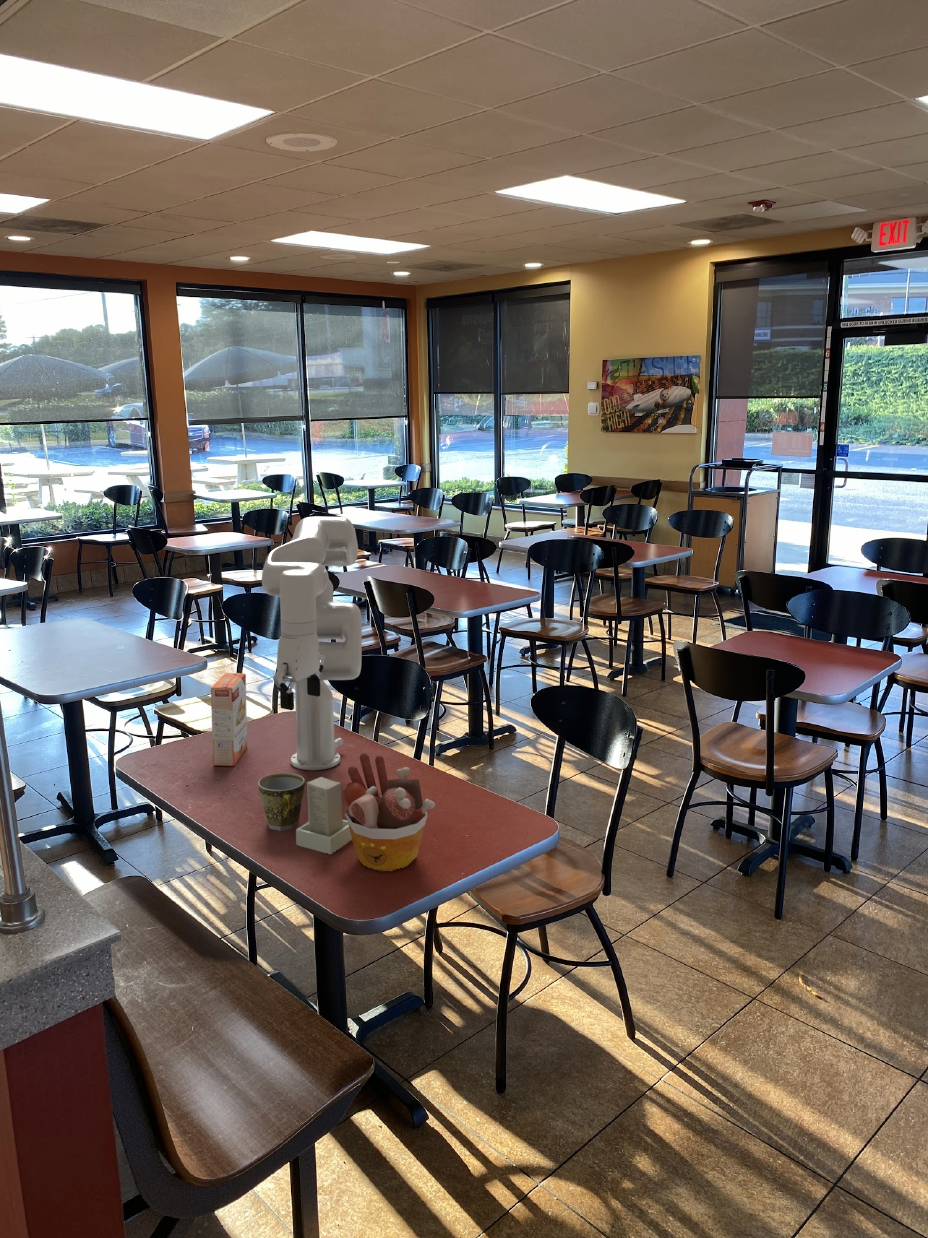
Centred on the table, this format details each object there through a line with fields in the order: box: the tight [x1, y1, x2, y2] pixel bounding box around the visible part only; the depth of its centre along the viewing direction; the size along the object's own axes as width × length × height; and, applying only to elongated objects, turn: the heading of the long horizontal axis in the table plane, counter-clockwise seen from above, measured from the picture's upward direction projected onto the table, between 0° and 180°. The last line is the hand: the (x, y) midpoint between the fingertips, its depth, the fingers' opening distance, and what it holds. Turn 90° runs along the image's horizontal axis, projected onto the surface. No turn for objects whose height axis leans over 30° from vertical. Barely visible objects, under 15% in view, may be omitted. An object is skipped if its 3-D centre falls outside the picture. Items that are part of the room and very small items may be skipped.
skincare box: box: [306, 776, 343, 837], centre depth 193 cm, size 6×4×12 cm
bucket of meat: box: [343, 752, 436, 871], centre depth 185 cm, size 20×16×20 cm
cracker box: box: [210, 672, 248, 767], centre depth 238 cm, size 14×6×21 cm, turn 179°
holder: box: [295, 818, 353, 855], centre depth 194 cm, size 9×9×4 cm
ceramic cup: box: [257, 772, 306, 832], centre depth 199 cm, size 13×10×10 cm
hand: (300, 702), depth 203 cm, fingers open, 9 cm apart
